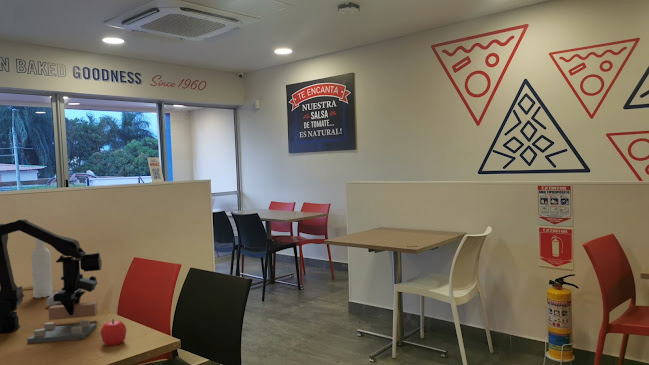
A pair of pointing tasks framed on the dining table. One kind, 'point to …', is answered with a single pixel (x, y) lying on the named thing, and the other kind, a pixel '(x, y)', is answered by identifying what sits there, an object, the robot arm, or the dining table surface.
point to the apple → (113, 332)
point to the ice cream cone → (50, 300)
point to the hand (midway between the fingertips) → (73, 313)
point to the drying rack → (62, 332)
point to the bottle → (41, 270)
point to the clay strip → (79, 311)
